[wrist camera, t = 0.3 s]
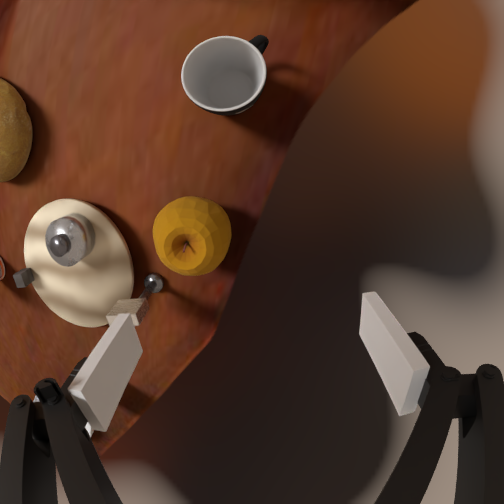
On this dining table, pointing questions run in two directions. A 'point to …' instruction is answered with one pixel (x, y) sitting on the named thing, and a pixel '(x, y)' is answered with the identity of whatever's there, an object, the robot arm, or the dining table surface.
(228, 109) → the mug
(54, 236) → the cover
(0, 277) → the pill bottle
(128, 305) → the silver rod with block
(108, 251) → the platter
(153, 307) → the dining table surface
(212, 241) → the apple
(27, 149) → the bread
